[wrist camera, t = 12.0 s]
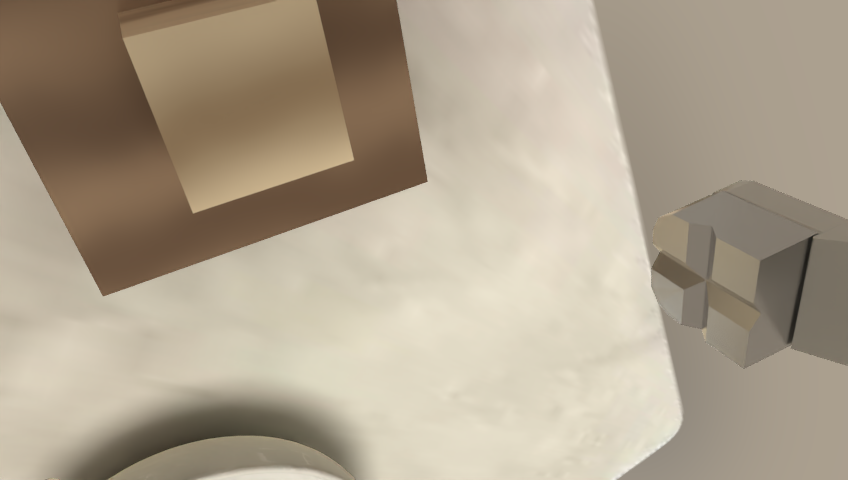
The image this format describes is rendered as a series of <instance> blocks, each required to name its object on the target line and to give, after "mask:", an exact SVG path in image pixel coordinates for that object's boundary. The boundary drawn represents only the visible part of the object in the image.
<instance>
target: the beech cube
mask: <svg viewBox="0 0 848 480" xmlns="http://www.w3.org/2000/svg"><path fill="white" fill-rule="evenodd" d="M118 17H119V22H120V28H121V33H122V38H123V41H124V43H125V46H126V48H127V51H128V53H129V56H130V58H131V61H132V63H133V66H134V68H135V70H136V73H137V75H138V78H139V80H140V83H141V85H142V88H143V90H144V93H145V95H146V98H147V100H148V103H149V105H150V108H151V110H152V113H153V115H154V118H155V120H156V123H157V125H158V128H159V130H160V133H161V135H162V138H163V140H164V143H165V145H166V148H167V150H168V152H169V155H170V157H171V160H172V162H173V165H174V167H175V170H176V172H177V175H178V177H179V180H180V182H181V185H182V187H183V190H184V192H185V195H186V197H187V200H188V202H189V205H190V207H191V210H192V212H193V213H196V212H199V211H202V210H205V209H208V208H211V207H214V206H217V205H220V204H223V203H226V202H229V201H232V200H235V199H238V198H242V197H245V196H248V195H251V194H254V193H257V192H260V191H263V190H266V189H269V188H272V187H275V186H278V185H281V184H284V183H287V182H290V181H293V180H296V179H299V178H302V177H305V176H308V175H311V174H314V173H317V172H320V171H323V170H326V169H329V168H332V167H335V166H338V165H341V164H344V163H347V162H350V161H353V160H354V157H353V153H352V149H351V145H350V140H349V136H348V132H347V128H346V124H345V119H344V115H343V111H342V107H341V102H340V98H339V94H338V90H337V86H336V81H335V77H334V73H333V69H332V64H331V60H330V56H329V52H328V48H327V43H326V39H325V35H324V31H323V26H322V22H321V18H320V14H319V10H318V5H317V1H316V0H171V1H166V2H162V3H158V4H153V5H149V6H145V7H140V8H136V9H132V10H127V11H123V12H119V13H118Z"/></svg>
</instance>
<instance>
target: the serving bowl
mask: <svg viewBox="0 0 848 480" xmlns="http://www.w3.org/2000/svg"><path fill="white" fill-rule="evenodd" d="M108 480H355V478H354V477H353V476H352V475H351V474H350V473H349V472H347V471H346V470H345V469H344V468H343V467H342V466H341V465H339V464H338V463H337V462H335V461H334V460H332V459H331V458H329V457H328V456H326V455H324V454H323V453H321V452H319V451H317V450H315V449H313V448H310V447H308V446H305V445H303V444H300V443H297V442H293V441H289V440H285V439H280V438H274V437H266V436H227V437H218V438H211V439H205V440H200V441H196V442H192V443H187V444H184V445H181V446H177V447H174V448H171V449H168V450H165V451H163V452H160V453H157V454H155V455H152V456H150V457H148V458H146V459H143V460H141V461H139V462H137V463H135V464H133V465H132V466H130V467H128V468H126V469H124V470H122V471H121V472H119V473H117V474H116V475H114V476H112V477H111V478H109V479H108Z"/></svg>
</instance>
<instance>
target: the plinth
mask: <svg viewBox="0 0 848 480" xmlns="http://www.w3.org/2000/svg"><path fill="white" fill-rule="evenodd" d="M166 1H171V0H0V102H1V104H2V106H3V108H4V110H5V112H6V114H7V116H8V118H9V119H10V121H11V123H12V125H13V127H14V129H15V131H16V133H17V135H18V136H19V138H20V140H21V142H22V144H23V146H24V148H25V150H26V152H27V153H28V155H29V157H30V159H31V161H32V163H33V165H34V167H35V169H36V170H37V172H38V174H39V176H40V178H41V180H42V182H43V184H44V186H45V188H46V189H47V191H48V193H49V195H50V197H51V199H52V201H53V203H54V205H55V206H56V208H57V210H58V212H59V214H60V216H61V218H62V220H63V222H64V223H65V225H66V227H67V229H68V231H69V233H70V235H71V237H72V239H73V240H74V242H75V244H76V246H77V248H78V250H79V252H80V254H81V256H82V257H83V259H84V261H85V263H86V265H87V267H88V269H89V271H90V273H91V274H92V276H93V278H94V280H95V282H96V284H97V286H98V288H99V290H100V291H101V293H102V295H103V296H106V295H109V294H111V293H114V292H117V291H120V290H123V289H126V288H128V287H131V286H134V285H137V284H140V283H143V282H145V281H148V280H151V279H154V278H157V277H159V276H162V275H165V274H168V273H171V272H174V271H176V270H179V269H182V268H185V267H188V266H191V265H193V264H196V263H199V262H202V261H205V260H208V259H210V258H213V257H216V256H219V255H222V254H224V253H227V252H230V251H233V250H236V249H239V248H241V247H244V246H247V245H250V244H253V243H256V242H258V241H261V240H264V239H267V238H270V237H273V236H275V235H278V234H281V233H284V232H287V231H290V230H292V229H295V228H298V227H301V226H304V225H306V224H309V223H312V222H315V221H318V220H321V219H323V218H326V217H329V216H332V215H335V214H338V213H340V212H343V211H346V210H349V209H352V208H355V207H357V206H360V205H363V204H366V203H369V202H371V201H374V200H377V199H380V198H383V197H386V196H388V195H391V194H394V193H397V192H400V191H403V190H405V189H408V188H411V187H414V186H417V185H420V184H422V183H425V182H428V181H427V175H426V170H425V164H424V158H423V152H422V146H421V141H420V135H419V129H418V123H417V118H416V112H415V106H414V100H413V94H412V89H411V83H410V77H409V71H408V66H407V60H406V54H405V48H404V42H403V37H402V31H401V25H400V19H399V14H398V8H397V2H396V0H316V1H317V5H318V10H319V14H320V18H321V22H322V26H323V31H324V35H325V39H326V43H327V48H328V52H329V56H330V60H331V64H332V69H333V73H334V77H335V81H336V86H337V90H338V94H339V98H340V102H341V107H342V111H343V115H344V119H345V124H346V128H347V132H348V136H349V140H350V145H351V149H352V153H353V157H354V160H353V161H350V162H347V163H344V164H341V165H338V166H335V167H332V168H329V169H326V170H323V171H320V172H317V173H314V174H311V175H308V176H305V177H302V178H299V179H296V180H293V181H290V182H287V183H284V184H281V185H278V186H275V187H272V188H269V189H266V190H263V191H260V192H257V193H254V194H251V195H248V196H245V197H242V198H238V199H235V200H232V201H229V202H226V203H223V204H220V205H217V206H214V207H211V208H208V209H205V210H202V211H199V212H196V213H193V212H192V210H191V207H190V205H189V202H188V200H187V197H186V195H185V192H184V190H183V187H182V185H181V182H180V180H179V177H178V175H177V172H176V170H175V167H174V165H173V162H172V160H171V157H170V155H169V152H168V150H167V148H166V145H165V143H164V140H163V138H162V135H161V133H160V130H159V128H158V125H157V123H156V120H155V118H154V115H153V113H152V110H151V108H150V105H149V103H148V100H147V98H146V95H145V93H144V90H143V88H142V85H141V83H140V80H139V78H138V75H137V73H136V70H135V68H134V66H133V63H132V61H131V58H130V56H129V53H128V51H127V48H126V46H125V43H124V41H123V38H122V33H121V28H120V22H119V17H118V13H119V12H123V11H127V10H132V9H136V8H140V7H145V6H149V5H153V4H158V3H162V2H166Z"/></svg>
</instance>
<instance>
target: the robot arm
mask: <svg viewBox="0 0 848 480" xmlns="http://www.w3.org/2000/svg"><path fill="white" fill-rule="evenodd" d="M652 241H653V242H652V243H653V244H654V246H655V247H656V248H657V249H658V250H659V251H660V253H659V255H658V257H657V259H656V261H655V262H654V264H653V266H652V268H651V287H652V289H653V292H654V294H655V296H656V299H657V301H658V303H659V305H660V306H661V307H662V308H663V310H664V311H665V312H666V313H667V314H668V315H669V316H670V317H671V318H673V319H674V320H676V321H677V322H678V323H680V324H681V325H685V326H689V327H694V328H699V329H702V332H703V336H704V339H705V342H706V343H708V344H709V345H710V346H712V347H713V348H715V349H716V350H718V351H719V352H720V353H722V354H723V355H725V356H726V357H728V358H729V359H730V360H732V361H733V362H735V363H736V364H738V365H739V366H740V367H742V368H743V369H745V368H747V367H748V366H751V365H752V364H754V363H757V362H759V361H761V360H763V359H764V358H766V357H769V356H770V355H773V354H774V353H777V352H779V351H780V350H783V349H784V348H786V347H788V346H790V345H792V346H791V348H792V349H794V350H797V351H801V352H804V353H808V354H810V355H814V356H817V357H820V358H824V359H827V360H830V361H834V362H837V363H840V364H844V365H847V366H848V219H845V218H843V217H840V216H838V215H836V214H833V213H831V212H828V211H826V210H823V209H821V208H818V207H816V206H814V205H811V204H809V203H806V202H804V201H801V200H799V199H796V198H794V197H792V196H789V195H786V194H784V193H782V192H779V191H776V190H774V189H772V188H770V187H767V186H765V185H762V184H760V183H757V182H755V181H742V180H741V181H738V182H736V183H734V184H731V185H729V186H727V187H725V188H723V189H720V190H718V191H716V192H714V193H713V194H712V195H709V196H707V197H704V198H702V199H700V200H697V201H695V202H693V203H691V204H688V205H686V206H684V207H681V208H679V209H677V210H675V211H672V212H670V213H668V214H665V215H663V216H661V217H659V218H658V220H657V222H656V224H655V226H654V228H653V240H652ZM46 480H60V479H54V478H48V479H46Z"/></svg>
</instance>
